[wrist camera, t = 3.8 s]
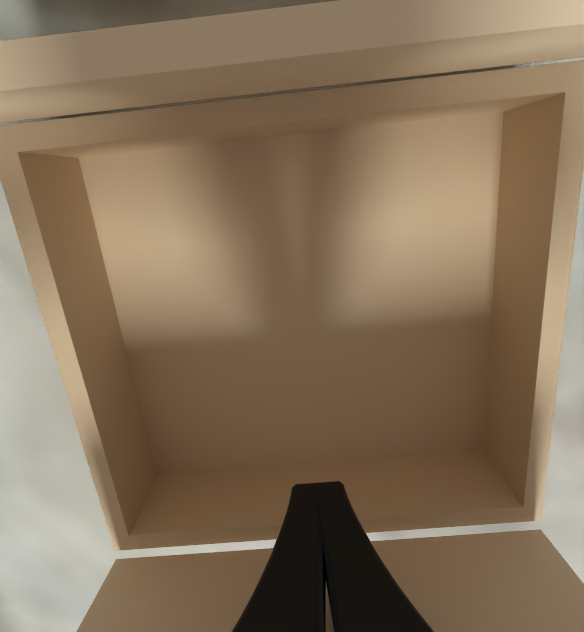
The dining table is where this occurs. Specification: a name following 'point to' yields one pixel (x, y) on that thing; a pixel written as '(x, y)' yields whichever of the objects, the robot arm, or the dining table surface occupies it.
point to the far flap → (397, 555)
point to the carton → (309, 298)
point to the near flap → (278, 52)
